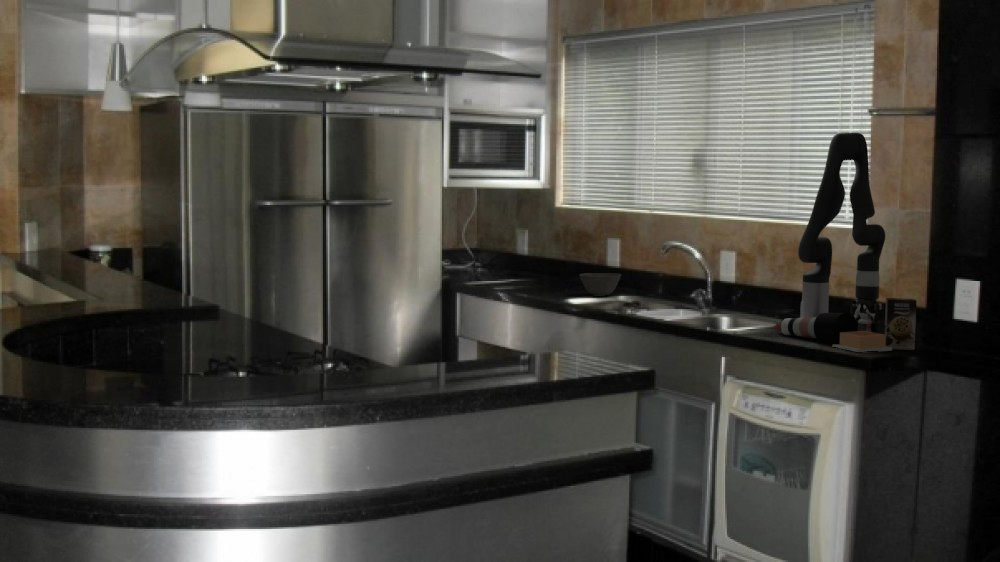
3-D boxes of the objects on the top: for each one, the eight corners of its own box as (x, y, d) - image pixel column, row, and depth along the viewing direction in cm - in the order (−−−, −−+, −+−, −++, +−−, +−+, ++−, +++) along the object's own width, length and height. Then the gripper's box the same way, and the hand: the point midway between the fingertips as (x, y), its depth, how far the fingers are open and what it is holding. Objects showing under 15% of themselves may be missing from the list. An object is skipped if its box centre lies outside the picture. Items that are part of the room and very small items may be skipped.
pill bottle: (868, 343, 399) (869, 314, 398) (854, 342, 403) (855, 313, 402) (877, 342, 403) (878, 313, 402) (862, 340, 407) (863, 311, 406)
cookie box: (885, 349, 388) (887, 299, 386) (883, 346, 394) (885, 297, 392) (915, 350, 386) (917, 300, 384) (912, 347, 392) (914, 298, 391)
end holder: (832, 347, 391) (832, 332, 390) (867, 345, 396) (868, 330, 395) (856, 352, 379) (856, 337, 379) (892, 350, 385) (892, 335, 384)
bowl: (622, 294, 549) (623, 272, 548) (619, 299, 530) (619, 276, 529) (582, 293, 552) (582, 272, 551) (576, 298, 534) (577, 275, 533)
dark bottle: (782, 345, 426) (791, 319, 428) (852, 348, 396) (861, 320, 398) (762, 334, 421) (771, 307, 423) (831, 335, 392) (840, 307, 394)
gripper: (890, 285, 396) (889, 334, 397) (862, 282, 409) (861, 329, 410) (872, 286, 393) (870, 335, 394) (844, 282, 406) (843, 330, 408)
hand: (866, 332), depth 402 cm, fingers open, 8 cm apart
